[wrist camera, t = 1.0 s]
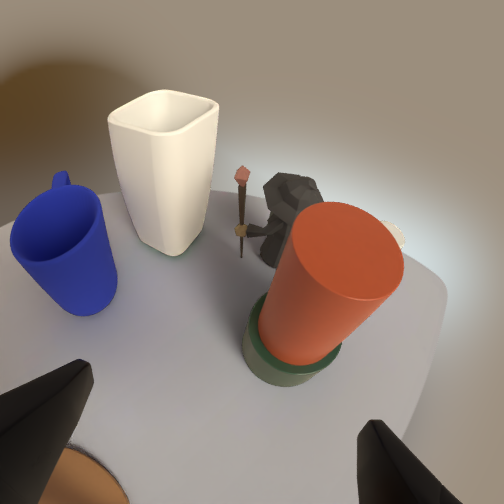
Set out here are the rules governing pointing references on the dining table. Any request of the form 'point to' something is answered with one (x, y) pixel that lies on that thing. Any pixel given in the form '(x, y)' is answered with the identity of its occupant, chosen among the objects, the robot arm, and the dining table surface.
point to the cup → (165, 165)
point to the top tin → (328, 281)
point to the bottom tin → (269, 365)
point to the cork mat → (81, 482)
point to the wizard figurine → (276, 210)
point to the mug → (67, 247)
